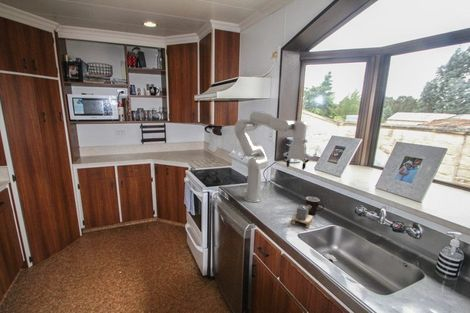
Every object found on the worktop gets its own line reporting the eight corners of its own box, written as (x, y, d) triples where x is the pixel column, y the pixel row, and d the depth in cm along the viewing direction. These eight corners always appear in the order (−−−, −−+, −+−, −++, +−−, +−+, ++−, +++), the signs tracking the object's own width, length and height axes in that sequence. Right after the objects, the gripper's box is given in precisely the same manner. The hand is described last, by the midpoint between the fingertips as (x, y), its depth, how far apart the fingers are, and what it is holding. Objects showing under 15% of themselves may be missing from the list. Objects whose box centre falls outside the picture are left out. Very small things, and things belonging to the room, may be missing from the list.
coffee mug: (301, 211, 161) (303, 197, 159) (311, 210, 164) (313, 196, 162) (312, 218, 151) (314, 203, 149) (323, 217, 154) (325, 202, 152)
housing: (299, 213, 148) (300, 203, 147) (308, 215, 146) (309, 205, 144) (295, 217, 141) (297, 207, 140) (305, 220, 139) (306, 210, 137)
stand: (291, 223, 142) (292, 217, 141) (295, 217, 151) (296, 211, 150) (308, 228, 137) (309, 222, 137) (311, 222, 146) (312, 215, 145)
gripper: (314, 142, 148) (310, 169, 151) (286, 139, 156) (283, 164, 159) (311, 143, 141) (308, 171, 145) (283, 140, 149) (280, 166, 153)
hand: (295, 167), depth 152 cm, fingers open, 9 cm apart
